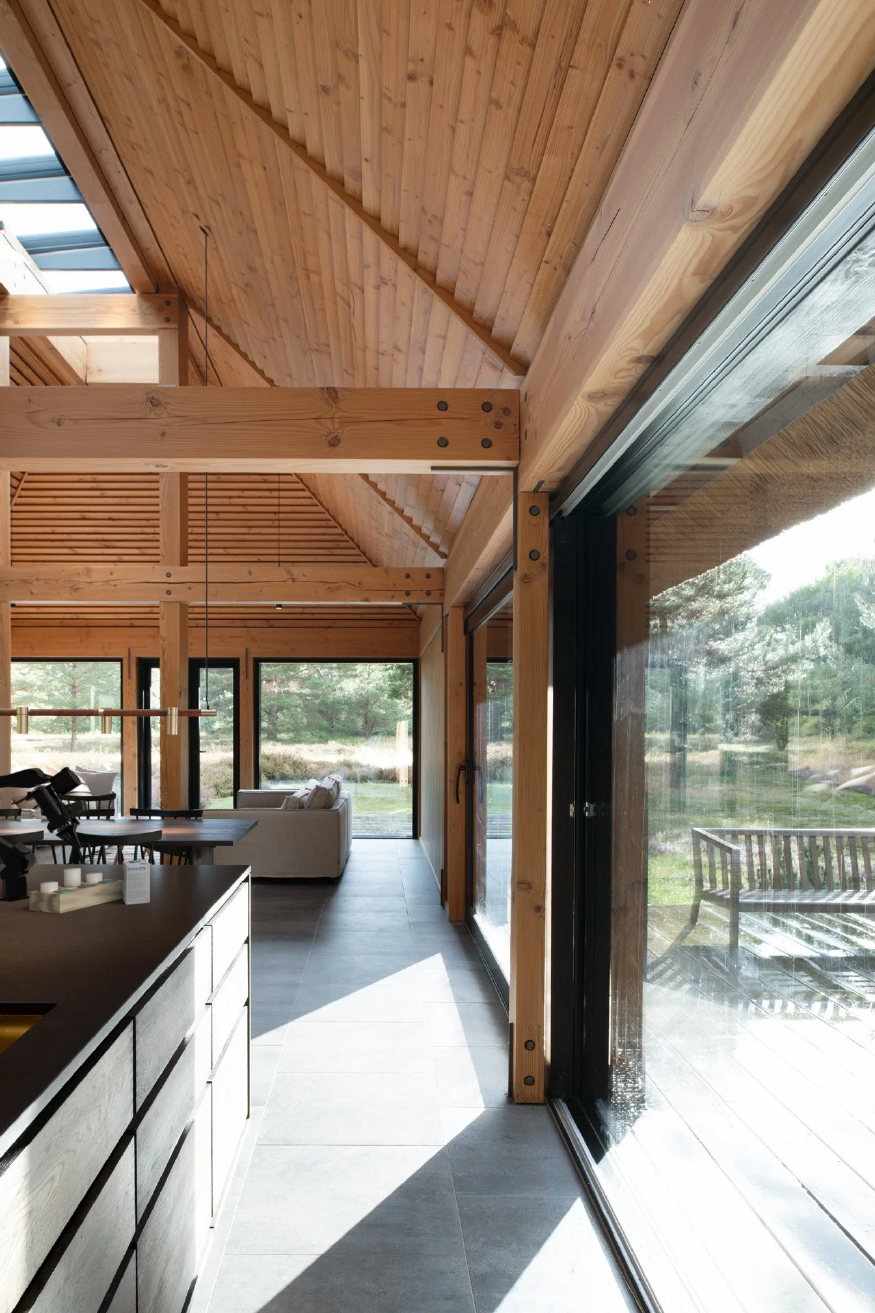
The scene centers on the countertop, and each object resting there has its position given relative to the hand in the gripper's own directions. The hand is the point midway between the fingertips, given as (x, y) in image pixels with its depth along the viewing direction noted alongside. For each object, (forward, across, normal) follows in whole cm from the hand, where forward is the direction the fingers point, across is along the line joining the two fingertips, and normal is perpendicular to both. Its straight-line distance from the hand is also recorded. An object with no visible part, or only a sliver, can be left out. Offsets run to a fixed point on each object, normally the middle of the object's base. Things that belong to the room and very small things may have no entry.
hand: (79, 849), depth 270 cm
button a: (+11, -13, +13) cm, 22 cm away
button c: (+14, -1, +4) cm, 15 cm away
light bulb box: (+22, -8, -6) cm, 24 cm away
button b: (+10, -7, +7) cm, 15 cm away
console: (+14, -8, +7) cm, 18 cm away
